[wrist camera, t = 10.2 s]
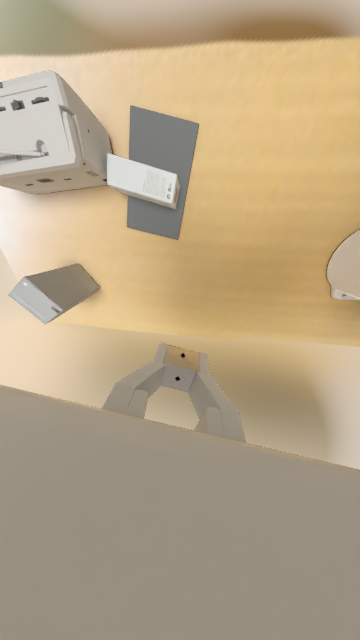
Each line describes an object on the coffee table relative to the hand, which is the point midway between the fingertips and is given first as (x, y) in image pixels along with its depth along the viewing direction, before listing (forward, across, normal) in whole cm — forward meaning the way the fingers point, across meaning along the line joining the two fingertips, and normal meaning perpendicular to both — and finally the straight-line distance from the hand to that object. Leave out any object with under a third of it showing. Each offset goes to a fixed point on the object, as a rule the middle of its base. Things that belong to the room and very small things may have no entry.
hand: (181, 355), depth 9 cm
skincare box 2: (+29, +6, -12) cm, 32 cm away
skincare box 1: (+32, +29, +12) cm, 45 cm away
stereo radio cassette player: (+33, +30, -12) cm, 46 cm away
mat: (+32, +11, -14) cm, 37 cm away
